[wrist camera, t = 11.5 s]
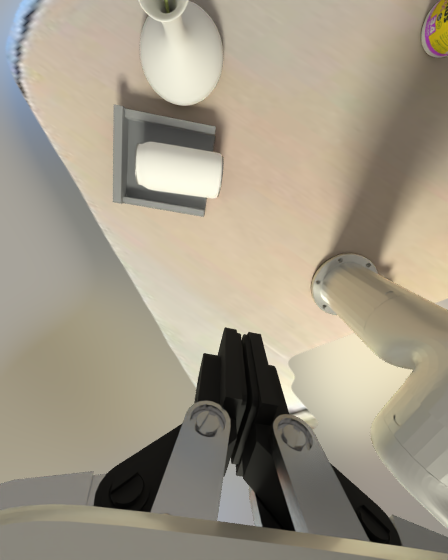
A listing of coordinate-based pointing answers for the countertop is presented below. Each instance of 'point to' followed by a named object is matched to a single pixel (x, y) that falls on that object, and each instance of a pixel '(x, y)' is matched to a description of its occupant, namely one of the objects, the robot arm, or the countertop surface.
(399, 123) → the countertop surface
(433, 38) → the supplement bottle
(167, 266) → the countertop surface
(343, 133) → the countertop surface
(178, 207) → the tray
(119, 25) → the countertop surface
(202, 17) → the flower in vase
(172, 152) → the can
